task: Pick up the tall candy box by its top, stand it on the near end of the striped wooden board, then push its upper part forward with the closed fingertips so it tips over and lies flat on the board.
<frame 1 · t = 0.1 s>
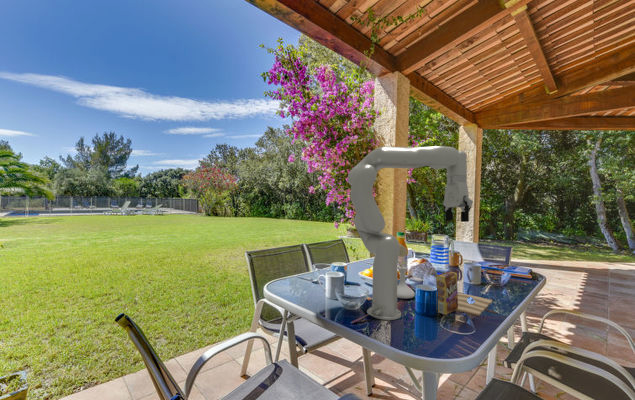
hand: (456, 221, 117), 37 cm above the table, tool pointing down, fingers open, 9 cm apart
flower in vase: (400, 296, 131), on the table
striped wooden board: (468, 304, 122), on the table
candy box: (448, 311, 112), on the table, touching striped wooden board
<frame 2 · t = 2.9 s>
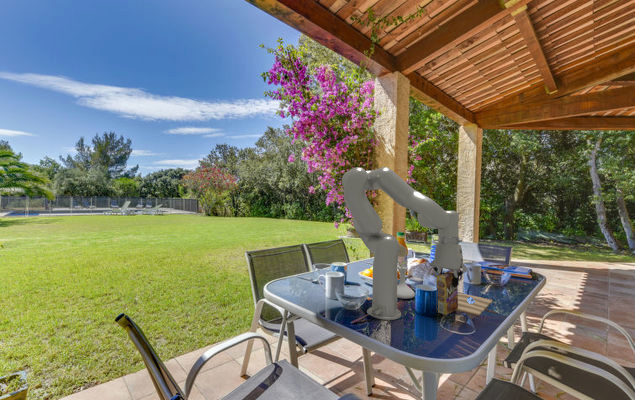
hand: (448, 285, 112), 11 cm above the table, tool pointing down, fingers closed on candy box, 4 cm apart
candy box: (448, 311, 112), on the table, touching striped wooden board, gripper
everything else where it was.
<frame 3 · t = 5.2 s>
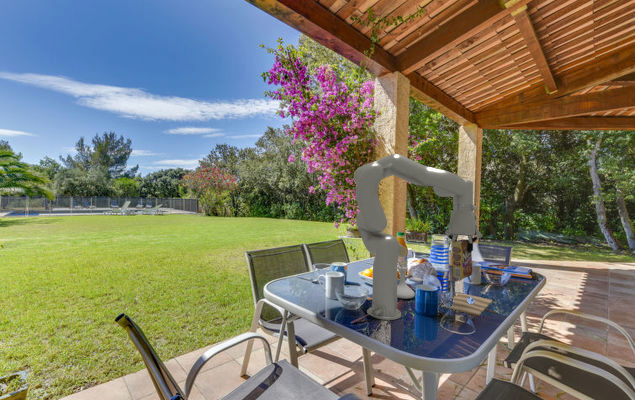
hand: (462, 251, 117), 24 cm above the table, tool pointing down, fingers closed on candy box, 4 cm apart
candy box: (463, 276, 117), point 13 cm above the table, touching gripper
everything else where it was.
when the fingers open (12 cm above the table, at t = 7.7 s): candy box stays where it is, resting on striped wooden board.
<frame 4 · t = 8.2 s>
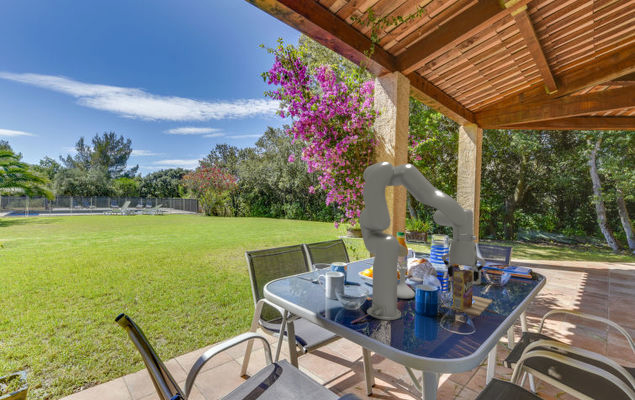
hand: (462, 278, 117), 13 cm above the table, tool pointing down, fingers open, 9 cm apart
candy box: (463, 307, 116), resting on striped wooden board
everything else where it was.
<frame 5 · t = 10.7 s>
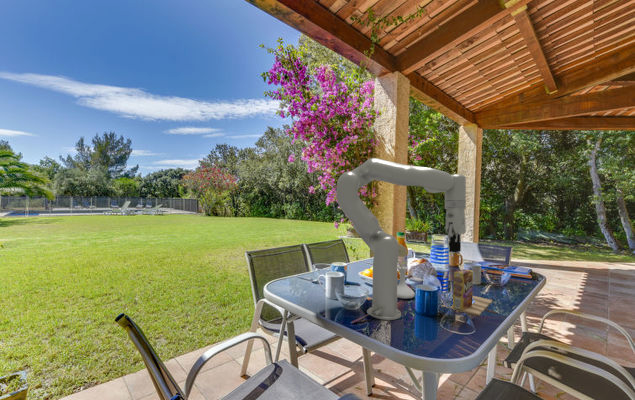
hand: (454, 251, 110), 25 cm above the table, tool pointing down, fingers closed
nothing on the table moved.
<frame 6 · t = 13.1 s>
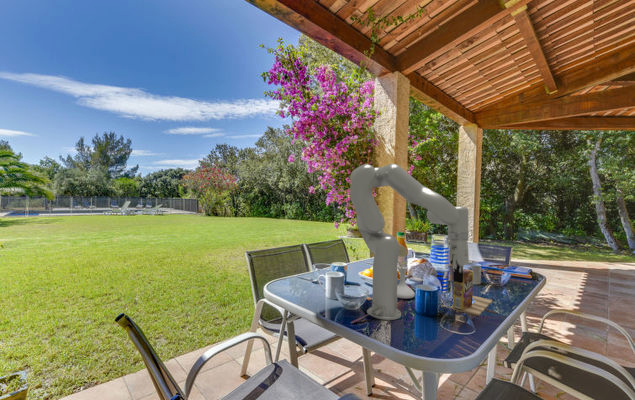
hand: (458, 281, 112), 12 cm above the table, tool pointing down, fingers closed
candy box: (463, 307, 116), resting on striped wooden board, touching gripper
everything else where it was.
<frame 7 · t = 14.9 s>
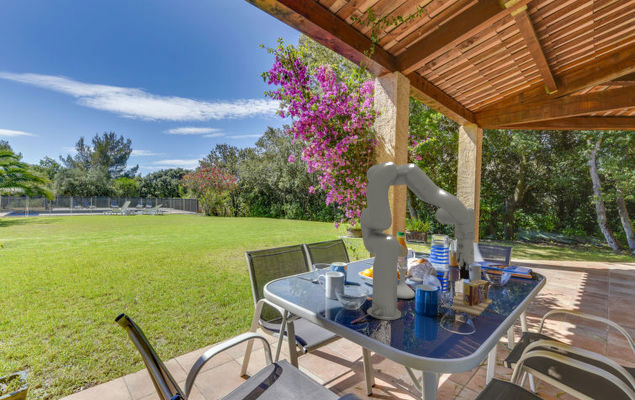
hand: (464, 278, 119), 12 cm above the table, tool pointing down, fingers closed
candy box: (468, 295, 119), point 5 cm above the table, touching striped wooden board
everything else where it was.
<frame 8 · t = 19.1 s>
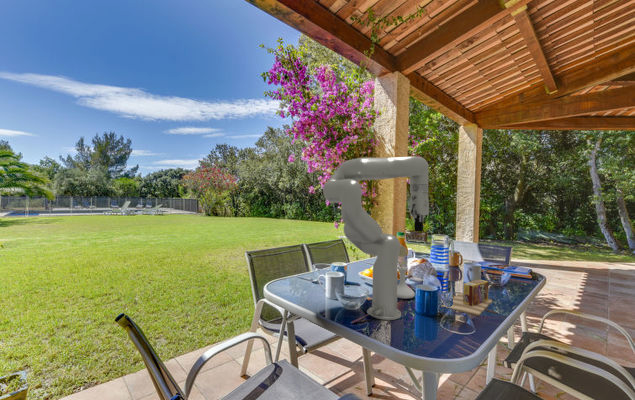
hand: (418, 231, 121), 32 cm above the table, tool pointing down, fingers closed
nothing on the table moved.
at the end: candy box tilted 90°; candy box inside the target area (5.6 cm from its centre), point 4.9 cm above the table; the gripper is holding nothing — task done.
